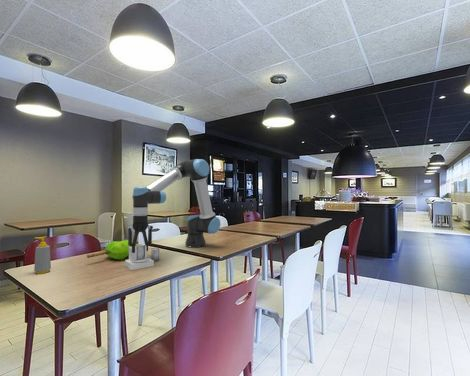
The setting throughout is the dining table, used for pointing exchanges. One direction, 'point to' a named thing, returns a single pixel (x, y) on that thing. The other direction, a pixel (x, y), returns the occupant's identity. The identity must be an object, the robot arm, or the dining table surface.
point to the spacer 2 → (155, 254)
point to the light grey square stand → (137, 262)
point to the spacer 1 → (140, 252)
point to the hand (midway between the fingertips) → (140, 257)
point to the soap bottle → (42, 257)
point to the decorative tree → (115, 250)
